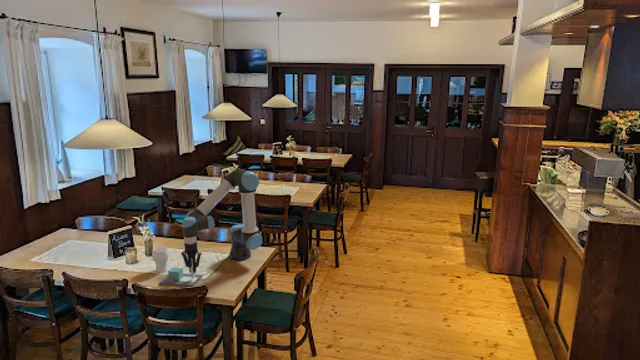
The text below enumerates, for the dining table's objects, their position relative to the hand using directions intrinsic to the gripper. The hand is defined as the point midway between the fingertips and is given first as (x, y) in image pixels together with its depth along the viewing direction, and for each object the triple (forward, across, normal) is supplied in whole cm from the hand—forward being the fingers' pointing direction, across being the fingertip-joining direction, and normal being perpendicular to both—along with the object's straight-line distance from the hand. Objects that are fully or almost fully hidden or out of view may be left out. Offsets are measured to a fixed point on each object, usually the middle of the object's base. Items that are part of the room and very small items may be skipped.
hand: (193, 277), depth 280 cm
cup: (+3, +27, -12) cm, 30 cm away
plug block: (+2, +11, +1) cm, 11 cm away
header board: (+3, +8, 0) cm, 9 cm away
